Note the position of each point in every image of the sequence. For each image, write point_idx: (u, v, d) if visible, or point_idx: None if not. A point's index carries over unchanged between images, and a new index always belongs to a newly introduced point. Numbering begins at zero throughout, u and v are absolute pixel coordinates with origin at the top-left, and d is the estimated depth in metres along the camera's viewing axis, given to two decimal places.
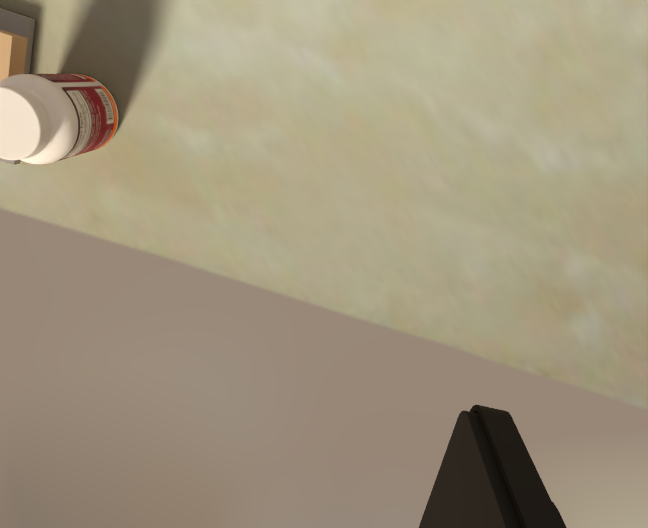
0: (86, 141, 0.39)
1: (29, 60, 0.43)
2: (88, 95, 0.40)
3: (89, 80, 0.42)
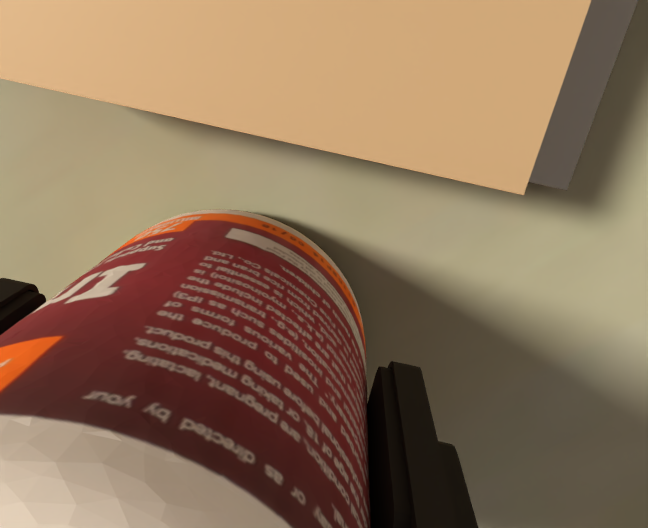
0: None
1: None
2: None
3: None
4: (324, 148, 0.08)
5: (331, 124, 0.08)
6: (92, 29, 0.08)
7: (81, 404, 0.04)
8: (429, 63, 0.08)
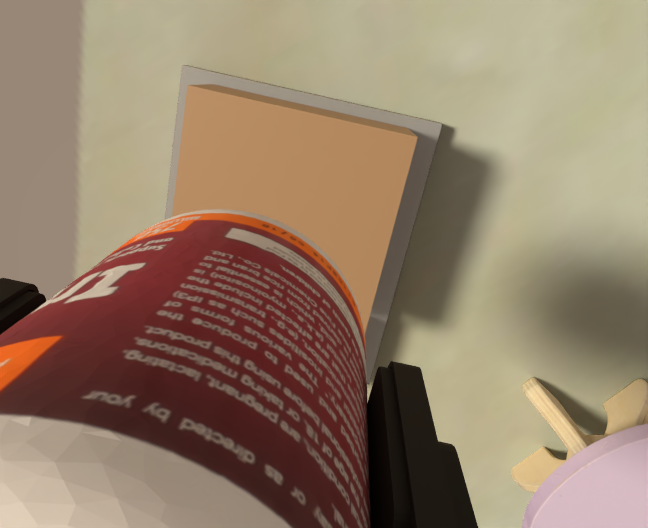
0: None
1: None
2: None
3: None
4: None
5: None
6: None
7: (82, 403, 0.04)
8: None
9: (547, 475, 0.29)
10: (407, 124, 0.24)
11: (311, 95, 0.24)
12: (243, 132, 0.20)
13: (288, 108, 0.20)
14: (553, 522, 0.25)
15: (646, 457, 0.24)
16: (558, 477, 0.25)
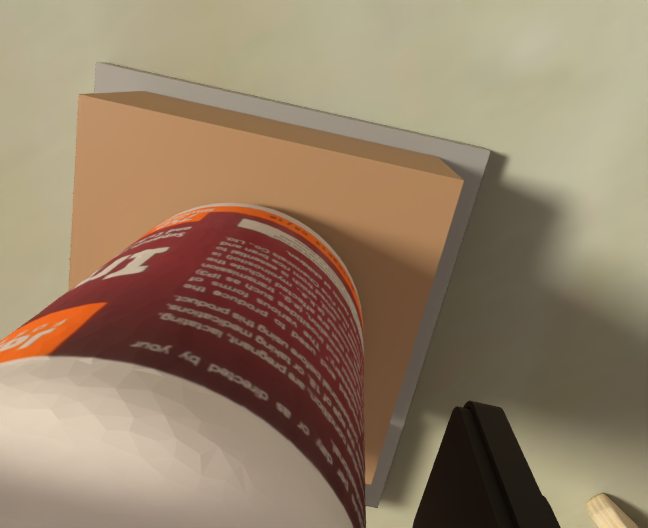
0: None
1: None
2: None
3: None
4: None
5: None
6: None
7: (129, 350, 0.06)
8: None
9: None
10: (437, 151, 0.16)
11: (292, 108, 0.16)
12: (175, 171, 0.12)
13: (248, 133, 0.12)
14: None
15: None
16: None
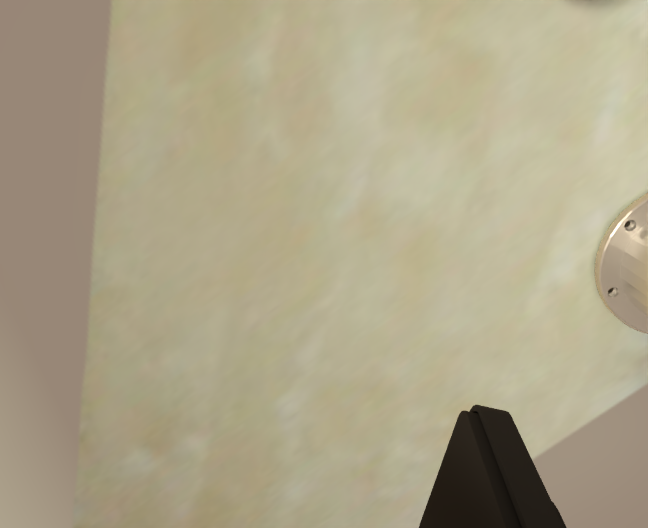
0: None
1: None
2: None
3: None
4: None
5: None
6: None
7: None
8: None
9: None
10: None
11: None
12: None
13: None
14: None
15: None
16: None
